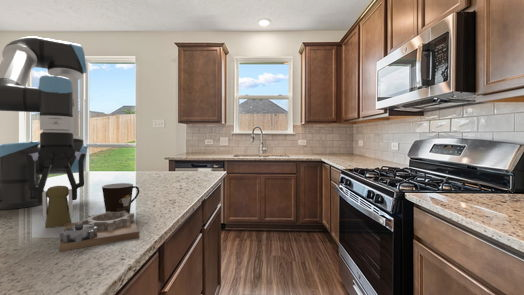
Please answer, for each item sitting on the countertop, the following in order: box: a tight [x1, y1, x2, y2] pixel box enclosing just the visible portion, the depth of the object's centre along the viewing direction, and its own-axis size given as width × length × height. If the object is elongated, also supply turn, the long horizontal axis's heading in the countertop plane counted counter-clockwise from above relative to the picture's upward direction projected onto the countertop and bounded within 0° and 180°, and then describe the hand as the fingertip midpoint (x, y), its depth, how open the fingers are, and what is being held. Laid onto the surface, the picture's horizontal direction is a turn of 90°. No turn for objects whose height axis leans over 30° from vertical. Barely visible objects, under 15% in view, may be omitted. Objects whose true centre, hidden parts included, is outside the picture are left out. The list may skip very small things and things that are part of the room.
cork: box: [44, 185, 72, 229], centre depth 76 cm, size 6×6×11 cm
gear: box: [59, 223, 97, 243], centre depth 63 cm, size 7×7×3 cm
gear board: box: [58, 211, 140, 252], centre depth 70 cm, size 17×16×4 cm
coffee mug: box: [101, 182, 140, 214], centre depth 85 cm, size 12×9×10 cm
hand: (58, 212), depth 76 cm, fingers closed on cork, 5 cm apart
